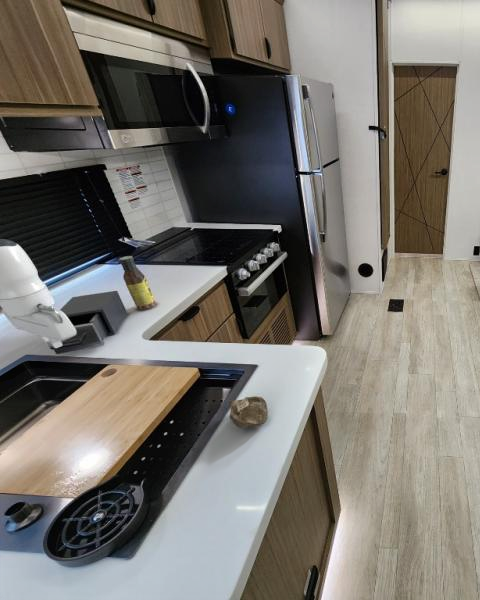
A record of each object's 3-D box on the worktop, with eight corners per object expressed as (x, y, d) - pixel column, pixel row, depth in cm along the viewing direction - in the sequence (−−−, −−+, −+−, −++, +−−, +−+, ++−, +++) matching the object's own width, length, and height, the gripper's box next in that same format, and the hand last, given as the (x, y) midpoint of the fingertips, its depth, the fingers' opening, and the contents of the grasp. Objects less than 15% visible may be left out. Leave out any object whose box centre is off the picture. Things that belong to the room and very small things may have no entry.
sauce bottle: (160, 305, 127) (140, 256, 118) (142, 312, 123) (120, 262, 113) (151, 301, 130) (131, 253, 121) (133, 308, 126) (111, 258, 116)
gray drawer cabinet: (115, 334, 110) (102, 309, 105) (67, 342, 106) (52, 317, 101) (127, 313, 122) (117, 290, 117) (85, 320, 117) (72, 297, 113)
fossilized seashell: (224, 404, 78) (228, 439, 71) (234, 383, 76) (240, 418, 69) (255, 404, 83) (262, 437, 76) (266, 385, 81) (274, 417, 74)
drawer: (97, 354, 98) (85, 332, 95) (48, 364, 95) (34, 341, 91) (116, 324, 113) (107, 304, 110) (75, 331, 110) (63, 311, 106)
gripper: (69, 301, 83) (94, 346, 90) (20, 291, 89) (46, 333, 96) (38, 314, 78) (67, 360, 84) (-12, 301, 84) (18, 346, 90)
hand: (55, 346), depth 90 cm, fingers closed
